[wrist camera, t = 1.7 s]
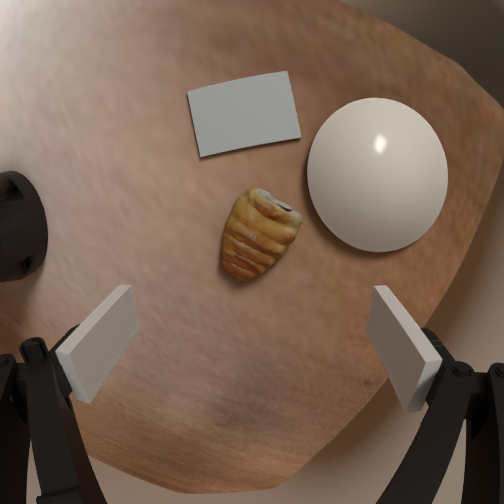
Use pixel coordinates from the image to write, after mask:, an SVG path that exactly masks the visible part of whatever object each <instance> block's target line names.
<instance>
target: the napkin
mask: <svg viewBox="0 0 504 504" xmlns="http://www.w3.org/2000/svg"><path fill="white" fill-rule="evenodd" d="M187 93H188V98H189V103H190V108H191V113H192V118H193V123H194V128H195V133H196V138H197V143H198V147H199V152H200V157H203V156H208V155H212V154H216V153H221V152H225V151H230V150H235V149H240V148H245V147H250V146H255V145H260V144H266V143H271V142H277V141H283V140H289V139H296V138H301V133H300V128H299V123H298V118H297V113H296V108H295V104H294V99H293V95H292V90H291V86H290V81H289V77H288V73H287V71H283V72H277V73H270V74H264V75H258V76H253V77H247V78H242V79H237V80H233V81H228V82H224V83H219V84H215V85H211V86H207V87H203V88H199V89H195V90H191V91H188V92H187Z"/></svg>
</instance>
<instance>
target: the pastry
mask: <svg viewBox="0 0 504 504" xmlns="http://www.w3.org/2000/svg"><path fill="white" fill-rule="evenodd" d="M302 223H303V219H302V216H301V214H299V213H298V212H296V211H294V210H293V209H292V208H291V207H290V206H289V205H287V204H285V203H283V202H281V201H278V200H276V199H274V198H273V197H272V196H271V195H270V193H268V192H267V191H264V190H263V189H260V188H253V189H250V190H248V191H247V192H246V193H245V194H244V195H243V196H242V197H241V198H239V199H238V200H237V201H236V202H235V203H234V205H233V208H232V211H231V213H230V215H229V218H228V220H227V221H226V223H225V229H224V233H223V241H222V250H221V256H220V261H221V264H222V266H223V268H224V270H225V271H226V272H227V273H228V274H229V275H231V276H232V277H234V279H235V280H237V281H239V282H243V281H246V280H252V279H254V278H255V277H256V276H258V275H260V274H262V273H264V272H265V271H266V270H267V269H268V268H269V267H270V266H272V265H273V264H274V263H275V261H276V260H277V259H279V258H281V257H282V256H283V255H284V253H285V251H286V248H287V247H288V245H289V243H292V242H293V241H294V240H295V238H296V234H297V230H298V228H299V226H300V225H301V224H302Z"/></svg>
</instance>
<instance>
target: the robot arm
mask: <svg viewBox="0 0 504 504" xmlns="http://www.w3.org/2000/svg"><path fill="white" fill-rule="evenodd" d="M46 248H47V222H46V217H45V212H44V208H43V205H42V202H41V200H40V197H39V195H38V193H37V191H36V190H35V188H34V186H33V185H32V184H31V182H30V181H29V180H28V179H27V178H26V177H25V176H23V175H22V174H20V173H18V172H14V171H7V172H2V173H0V282H7V281H14V280H20V279H23V278H25V277H27V276H28V275H30V274H31V273H33V272H34V271H36V270H37V269H38V268H39V266H40V265H41V263H42V261H43V259H44V256H45V253H46ZM139 328H140V325H139V320H138V316H137V311H136V306H135V301H134V296H133V290H132V285H119V286H118V287H117V288H116V289H115V290H114V291H113V292H112V293H111V294H110V295H109V296H108V297H107V298H106V299H105V300H104V301H103V302H102V303H101V304H100V305H99V306H98V307H97V308H96V309H95V310H94V311H93V312H92V313H91V314H90V315H89V316H88V317H87V318H86V319H85V320H84V321H83V322H82V323H81V324H78V325H76V326H75V327H73V328H71V329H70V330H69V331H68V332H67V333H66V334H65V336H63V337H62V338H61V340H59V341H58V342H57V343H56V345H55V346H54V347H53V348H52V349H51V350H50V351H49V352H48V349H47V347H46V344H45V341H44V339H42V338H40V337H33V338H30V339H27V340H25V341H24V342H22V344H21V345H20V347H19V350H20V353H21V355H22V357H23V359H24V362H25V363H17V362H16V360H15V358H14V356H13V355H12V354H2V355H0V504H26V488H27V487H26V486H27V469H28V456H29V448H30V439H31V442H32V449H33V455H34V460H35V466H36V471H37V475H38V480H39V484H40V488H41V493H42V494H41V496H37V498H36V503H37V504H107V502H106V500H105V498H104V495H103V493H102V491H101V489H100V486H99V484H98V481H97V479H96V477H95V474H94V471H93V469H92V466H91V463H90V461H89V458H88V455H87V452H86V450H85V447H84V444H83V441H82V437H81V434H80V431H79V428H78V424H77V421H76V417H75V414H74V410H73V406H72V402H71V400H70V398H69V395H70V393H71V392H72V391H73V393H74V395H75V397H76V399H77V400H78V401H82V402H86V403H89V404H91V402H92V400H93V399H94V397H95V396H96V394H97V392H98V391H99V389H100V388H101V386H102V384H103V383H104V381H105V380H106V378H107V377H108V375H109V374H110V372H111V370H112V369H113V367H114V366H115V364H116V363H117V361H118V360H119V358H120V357H121V355H122V354H123V352H124V351H125V349H126V348H127V346H128V345H129V343H130V342H131V340H132V339H133V337H134V336H135V334H136V333H137V331H138V330H139ZM366 330H367V332H368V334H369V336H370V338H371V340H372V342H373V344H374V346H375V348H376V350H377V353H378V355H379V357H380V359H381V361H382V363H383V365H384V367H385V369H386V372H387V374H388V376H389V378H390V380H391V382H392V385H393V387H394V389H395V391H396V394H397V396H398V398H399V400H400V403H401V405H402V407H403V410H404V412H405V414H406V413H411V412H416V411H420V410H421V409H422V407H423V405H424V403H425V401H426V402H427V404H428V406H429V408H428V410H427V412H426V415H425V416H424V418H423V420H422V422H421V425H420V428H419V430H418V432H417V434H416V436H415V438H414V440H413V442H412V444H411V446H410V447H409V449H408V451H407V453H406V455H405V457H404V459H403V460H402V462H401V464H400V466H399V468H398V469H397V471H396V473H395V474H394V476H393V478H392V479H391V481H390V482H389V484H388V486H387V487H386V489H385V490H384V492H383V493H382V495H381V496H380V498H379V499H378V501H377V502H376V504H432V502H433V500H434V497H435V495H436V493H437V491H438V489H439V487H440V484H441V482H442V480H443V477H444V475H445V473H446V470H447V467H448V465H449V462H450V460H451V457H452V455H453V452H454V449H455V446H456V443H457V440H458V437H459V434H460V431H461V428H462V424H463V421H464V419H466V458H465V472H464V484H463V493H462V500H461V504H504V363H494V364H492V365H491V366H490V368H489V370H488V372H487V373H481V372H474V370H473V368H472V367H471V366H469V365H468V364H466V363H464V362H460V361H455V360H454V358H453V357H452V356H451V354H450V353H449V352H448V350H447V349H446V348H445V346H443V344H442V342H441V341H439V339H438V337H437V336H436V335H435V333H434V332H432V331H431V330H429V329H427V328H419V326H418V325H417V324H416V322H415V321H414V320H413V318H412V317H411V316H410V315H409V313H408V312H407V311H406V309H405V308H404V307H403V306H402V304H401V303H400V302H399V300H398V299H397V298H396V297H395V295H394V294H393V293H392V292H391V290H390V289H389V288H388V287H387V286H374V287H373V294H372V300H371V306H370V312H369V318H368V324H367V329H366Z"/></svg>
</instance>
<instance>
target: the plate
mask: <svg viewBox="0 0 504 504" xmlns="http://www.w3.org/2000/svg"><path fill="white" fill-rule="evenodd" d="M307 183H308V188H309V193H310V196H311V200H312V203H313V205H314V207H315V209H316V211H317V213H318V215H319V217H320V218H321V220H322V221H323V223H324V224H325V225H326V226H327V227H328V229H329V230H330V231H331V232H332V233H333V234H335V235H336V236H337V237H338V238H339V239H341V240H342V241H344V242H345V243H347V244H349V245H351V246H353V247H355V248H358V249H361V250H365V251H370V252H389V251H393V250H398V249H400V248H403V247H406V246H407V245H409V244H411V243H413V242H415V241H416V240H417V239H419V238H420V237H421V236H422V235H423V234H425V233H426V232H427V231H428V229H429V228H430V227H431V226H432V225H433V223H434V222H435V220H436V219H437V217H438V215H439V213H440V211H441V209H442V206H443V203H444V201H445V196H446V192H447V184H448V170H447V162H446V157H445V153H444V150H443V148H442V145H441V143H440V141H439V139H438V137H437V135H436V133H435V132H434V130H433V129H432V127H431V126H430V125H429V124H428V122H427V121H426V120H425V119H424V118H423V117H422V116H421V115H419V114H418V113H417V112H416V111H414V110H413V109H411V108H410V107H408V106H406V105H404V104H402V103H399V102H397V101H394V100H389V99H385V98H366V99H361V100H357V101H354V102H352V103H349V104H347V105H345V106H344V107H342V108H340V109H338V110H337V111H336V112H335V113H333V114H332V115H331V116H330V117H329V118H328V119H327V120H326V121H325V122H324V123H323V125H322V126H321V128H320V129H319V131H318V132H317V134H316V136H315V138H314V140H313V142H312V145H311V148H310V152H309V157H308V162H307Z"/></svg>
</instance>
